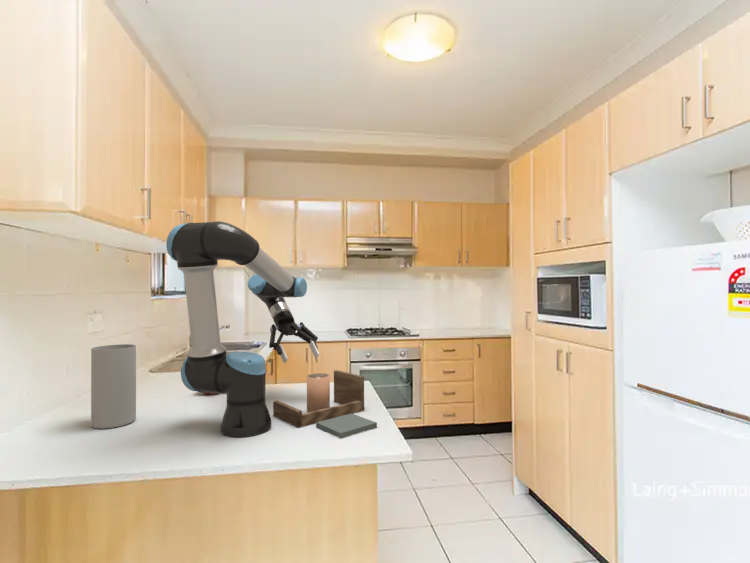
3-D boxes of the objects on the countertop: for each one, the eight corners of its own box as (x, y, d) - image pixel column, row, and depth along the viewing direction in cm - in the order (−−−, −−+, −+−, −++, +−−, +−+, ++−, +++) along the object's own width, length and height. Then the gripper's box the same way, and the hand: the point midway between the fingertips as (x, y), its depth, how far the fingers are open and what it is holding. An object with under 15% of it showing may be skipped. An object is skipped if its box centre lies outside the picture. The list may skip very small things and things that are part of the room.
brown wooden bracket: (297, 427, 131) (297, 389, 131) (273, 415, 143) (273, 380, 143) (364, 410, 148) (364, 376, 148) (337, 401, 161) (336, 370, 161)
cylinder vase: (90, 432, 128) (90, 351, 128) (92, 421, 139) (92, 346, 139) (136, 424, 135) (136, 347, 135) (135, 415, 145) (135, 343, 146)
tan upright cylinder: (314, 417, 141) (314, 379, 141) (302, 412, 147) (302, 375, 147) (334, 412, 146) (334, 375, 146) (321, 408, 152) (321, 372, 152)
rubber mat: (340, 438, 121) (340, 433, 121) (316, 427, 131) (316, 422, 131) (376, 427, 130) (376, 422, 130) (351, 417, 140) (351, 413, 140)
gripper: (305, 320, 177) (325, 360, 165) (249, 324, 160) (268, 369, 149) (312, 308, 173) (333, 348, 161) (255, 311, 156) (275, 356, 145)
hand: (302, 358), depth 155 cm, fingers open, 13 cm apart
